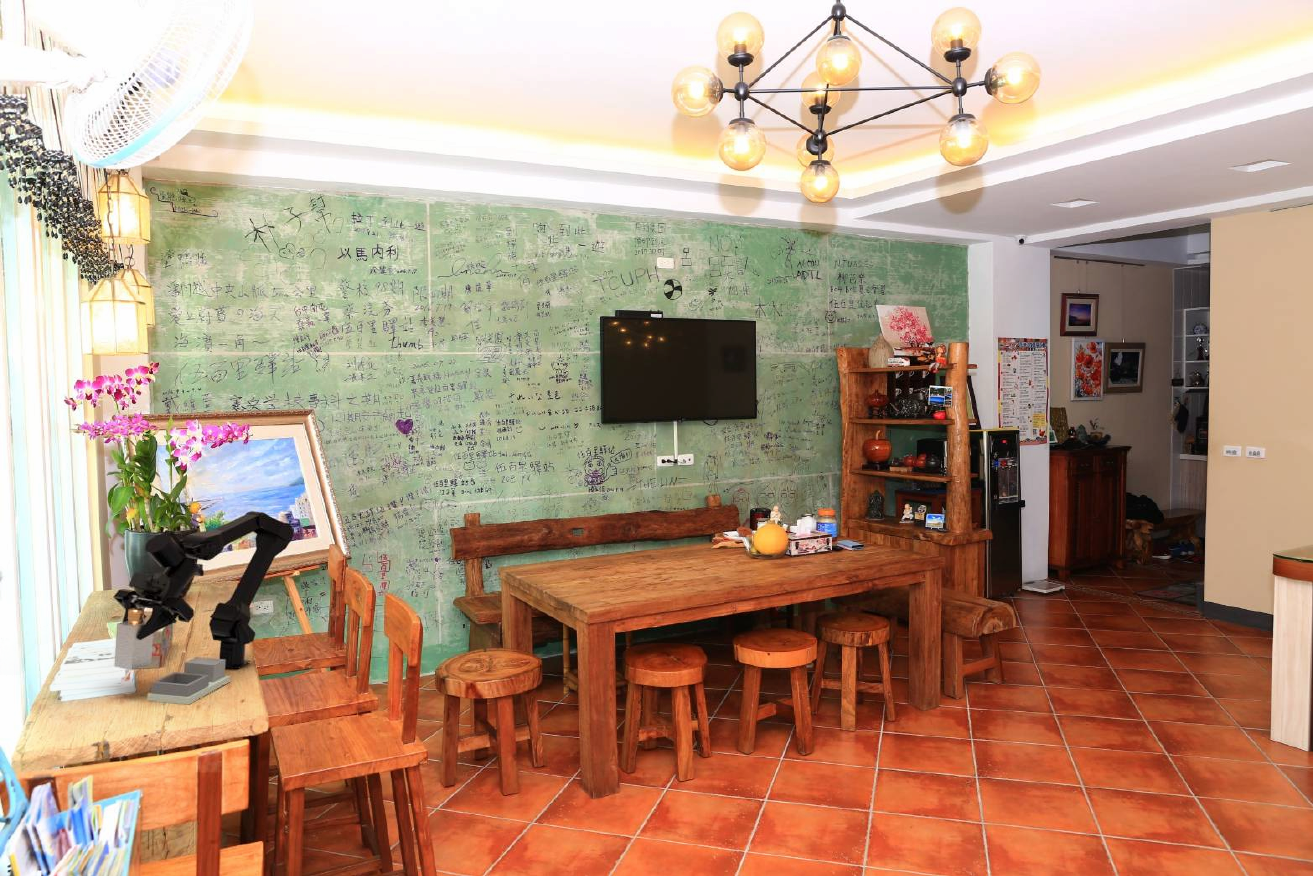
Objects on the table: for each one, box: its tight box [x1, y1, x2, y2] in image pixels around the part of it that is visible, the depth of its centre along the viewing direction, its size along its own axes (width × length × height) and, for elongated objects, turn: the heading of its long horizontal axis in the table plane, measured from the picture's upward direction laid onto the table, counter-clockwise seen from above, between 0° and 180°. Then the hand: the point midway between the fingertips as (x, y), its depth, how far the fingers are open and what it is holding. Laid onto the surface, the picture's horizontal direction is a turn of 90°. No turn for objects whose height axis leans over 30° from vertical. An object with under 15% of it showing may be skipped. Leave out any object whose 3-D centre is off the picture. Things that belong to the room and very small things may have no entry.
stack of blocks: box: [140, 608, 174, 669], centre depth 227 cm, size 21×6×12 cm, turn 22°
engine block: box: [113, 608, 153, 671], centre depth 196 cm, size 5×5×12 cm
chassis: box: [147, 656, 231, 705], centre depth 203 cm, size 17×9×6 cm, turn 177°
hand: (129, 637), depth 195 cm, fingers closed on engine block, 5 cm apart
